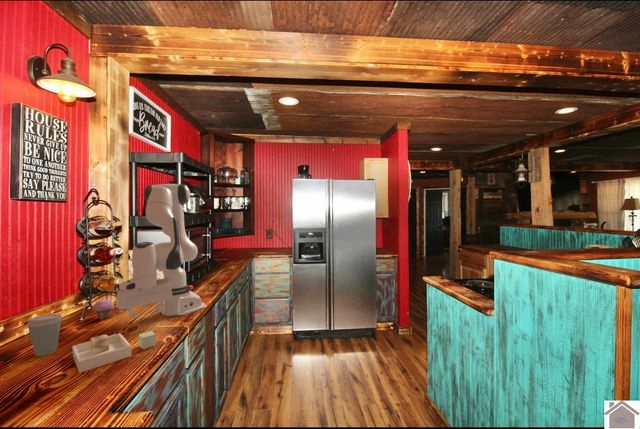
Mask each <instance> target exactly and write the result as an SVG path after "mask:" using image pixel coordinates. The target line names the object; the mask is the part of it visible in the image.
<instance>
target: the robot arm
mask: <svg viewBox="0 0 640 429" xmlns="http://www.w3.org/2000/svg"><path fill="white" fill-rule="evenodd" d="M143 198H144V201H145V202H146V206H145V217H146V219H147V221H148V222H149V223H150V224H152V225H153V226H156V227H158V228H161V229H162V232H163V234H164V235H165V236H168V237H169V238H170V241H166V242H165V241H164V242H158V243H154V242H151V241H143V242H138V243H136V244H134V245H133V248H132V253H131V266H132V269H133V270H132V271H133V272H132V276H131V277H132V278H130V279H126V280H124V281H123V282H121V283H119V284H118V288H119V290H118V291H117V293H116V299H115V300H116V301H115V307H116V308H117V309H119V310H125V309H126V310H127V312H128V313H129V315H130V316H129V317H130V319H134V318H136V312H132V311H133V308H134V307H139V306H145V305H149V304H153V303H158V304H157V305H158V306H157V307H155V312H156V313H161V312H162V313H161V314H162V316H166V317H167V316H168V317H170V316H171V317H172V316H185V315H188V314H191V313H194V312H197V311H199V310H203V309H205V308H206V306H207V305H206V303H204V302H202V299H201V296H200V295H198V294H197V293H195V292H193V291H192V290H193V289H194V286H193V285H190V284H187V273H186V270H185V269H183V268H182V267H181V266H182V265H183V264H184V263H186V262H191V261H194V260H195V259H196V257H198V252H199V249H198V247H197V245H196V243H194V242H192V241H191V240H190V238H189V237H188V235H187V232H186V229H185V214H184V206H185V204H187V203H188V202H189V201H190V199H191V192H190V188H189V187H188V185H186V184H184V183H183V184H182V183H179V184H178V183H166V184H165V183H164V184H162V183H161V184H150V185H147V186H146V187H145V188H144V190H143ZM159 270H160V271H162V275H163V278H159V279H158V272H157V271H159ZM162 306H163V307H162ZM161 309H162V310H161Z"/></svg>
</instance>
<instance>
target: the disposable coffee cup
mask: <svg viewBox="0 0 640 429" xmlns="http://www.w3.org/2000/svg"><path fill="white" fill-rule="evenodd" d="M28 320H29V321H27V325H26V326H27V327H28V332H29V335H30V340H31V345H32V348H33V352H34V353H33V354H34V355H35V356H36V357H44V356H48V355H51V354H53V353H55V352H57V349H58V343H59V337H60V330H61V326H62V320H63V316H62V315H61V314H58V313H50V314H43V315H37V316H35V317H31V318H29V319H28Z"/></svg>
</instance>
